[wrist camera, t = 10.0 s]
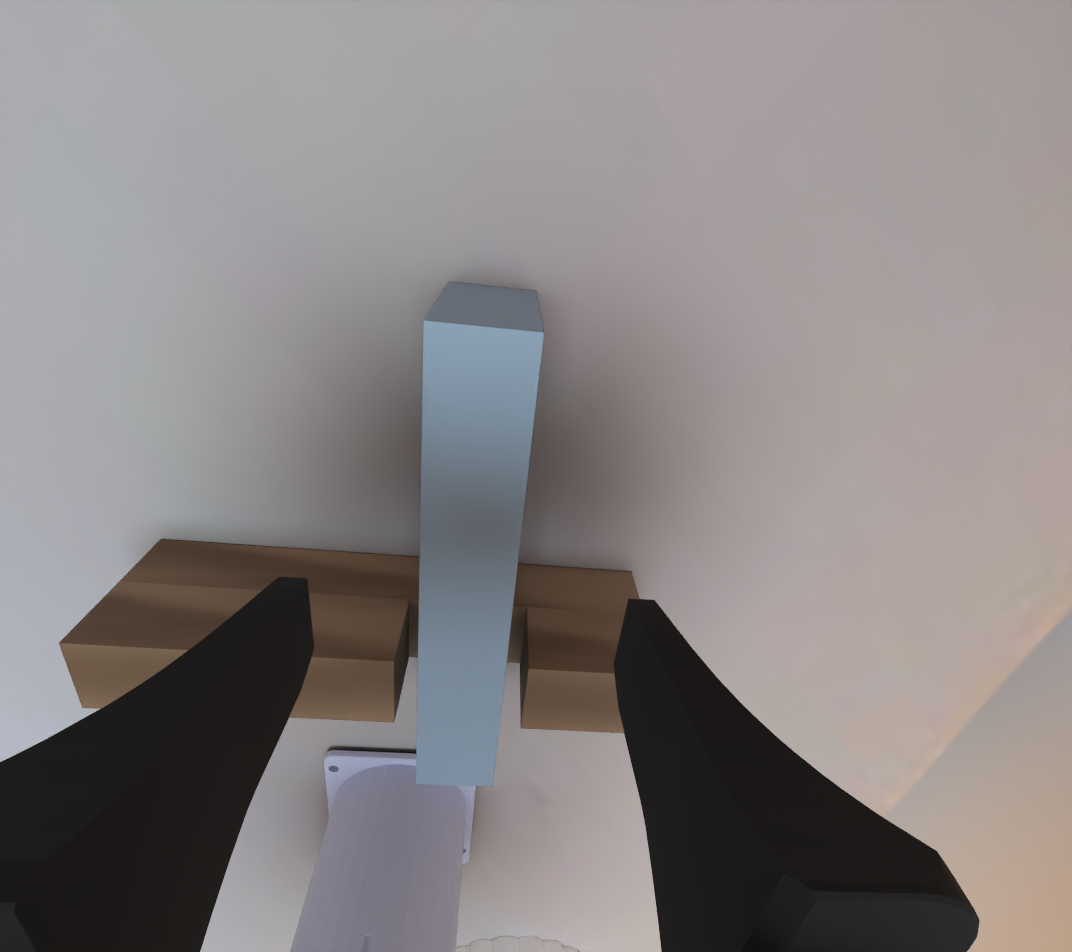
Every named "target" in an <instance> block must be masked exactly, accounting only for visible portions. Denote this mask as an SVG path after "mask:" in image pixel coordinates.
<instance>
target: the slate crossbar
mask: <svg viewBox="0 0 1072 952" xmlns="http://www.w3.org/2000/svg"><path fill="white" fill-rule="evenodd" d="M543 337H544V330H543V325H542V319H541V314H540V308H539V303H538V298H537V292H536V291H532V290H523V289H513V288H504V287H494V286H485V285H475V284H466V283H456V282H448V284H447V285H446V287H445V288H444V290H443V291H442V293H441V294H440V296H439V298H438V299H437V301H436V302H435V304H434V305H433V307H432V308H431V310H430V312H429V313H428V315H427V316H426V318H425V319H424V330H423V389H422V448H421V508H420V567H419V627H418V686H417V745H416V784H433V785H459V786H486V787H492V786H493V778H494V769H495V760H496V751H497V742H498V734H499V725H500V716H501V707H502V698H503V689H504V681H505V672H506V663H507V654H508V645H509V637H510V628H511V619H512V610H513V601H514V593H515V584H516V575H517V566H518V557H519V548H520V540H521V531H522V522H523V513H524V504H525V496H526V487H527V478H528V469H529V460H530V452H531V443H532V434H533V425H534V416H535V407H536V399H537V390H538V381H539V372H540V363H541V355H542V346H543Z"/></svg>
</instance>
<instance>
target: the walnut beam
mask: <svg viewBox="0 0 1072 952" xmlns="http://www.w3.org/2000/svg"><path fill="white" fill-rule="evenodd" d="M419 567H420V557H410V556H396V555H381V554H367V553H352V552H338V551H324V550H309V549H295V548H280V547H266V546H251V545H237V544H222V543H208V542H193V541H179V540H164V539H161V540H160V541H159V542H158V543H157V544H156V545H155V546H154V547H153V548H152V549H151V550H150V551H149V552H148V553H147V554H146V555H145V556H144V557H143V558H142V559H141V560H140V561H139V562H138V563H137V564H136V565H135V566H134V567H133V568H132V569H131V570H130V571H129V572H128V573H127V574H126V575H125V576H124V577H123V578H122V579H121V580H120V581H119V582H118V583H117V584H116V585H115V586H114V587H113V589H112V590H111V591H110V592H109V593H108V594H107V595H106V596H105V597H104V598H103V599H102V600H101V601H100V602H99V603H98V604H97V605H96V606H95V607H94V608H93V609H92V610H91V611H90V612H89V613H88V614H87V615H86V616H85V617H84V618H83V619H82V620H81V621H80V622H79V623H78V624H77V625H76V626H75V627H74V628H73V629H72V630H71V631H70V632H69V633H68V634H67V635H66V636H65V637H64V638H63V639H62V640H61V641H60V642H59V645H60V648H61V651H62V653H63V656H64V659H65V661H66V664H67V667H68V670H69V672H70V675H71V678H72V681H73V683H74V686H75V689H76V692H77V694H78V697H79V700H80V702H81V705H82V708H97V709H101V708H103V707H105V706H106V705H108V704H110V703H111V702H113V701H115V700H116V699H118V698H119V697H121V696H123V695H124V694H126V693H127V692H129V691H130V690H132V689H134V688H135V687H137V686H138V685H140V684H141V683H143V682H144V681H146V680H147V679H149V678H150V677H152V676H153V675H155V674H156V673H158V672H159V671H161V670H162V669H164V668H165V667H166V666H168V665H169V664H170V663H172V662H173V661H174V660H176V659H177V658H178V657H180V656H181V655H183V654H184V653H185V652H187V651H188V650H189V649H191V648H192V647H193V646H195V645H196V644H197V643H199V642H200V641H201V640H202V639H204V638H205V637H206V636H207V635H209V634H210V633H211V632H212V631H214V630H215V629H216V628H217V627H219V626H220V625H221V624H222V623H224V622H225V621H226V620H227V619H229V618H230V617H231V616H232V615H233V614H235V613H236V612H237V611H238V610H239V609H241V608H242V607H243V606H244V605H245V604H247V603H248V602H249V601H250V600H251V599H253V598H254V597H255V596H256V595H257V594H259V593H260V592H261V591H262V590H263V589H265V588H266V587H267V586H268V585H269V584H271V583H272V582H273V581H274V580H276V579H277V578H278V577H294V578H308V589H309V599H310V609H311V619H312V630H313V640H314V651H313V654H312V657H311V661H310V664H309V667H308V671H307V674H306V677H305V680H304V683H303V686H302V689H301V692H300V694H299V696H298V698H297V701H296V703H295V705H294V707H293V710H292V712H291V714H290V716H289V717H290V718H311V719H332V720H354V721H375V722H394V721H395V717H396V712H397V708H398V703H399V699H400V694H401V690H402V685H403V681H404V676H405V672H406V667H407V663H408V658H409V657H418V627H419ZM628 599H639V596H638V592H637V589H636V585H635V582H634V579H633V575H632V572H627V571H613V570H598V569H584V568H569V567H555V566H541V565H526V564H518V566H517V575H516V584H515V593H514V601H513V610H512V619H511V628H510V637H509V645H508V654H507V662H512V663H520V707H521V728H525V729H547V730H568V731H590V732H611V733H624V729H623V725H622V721H621V716H620V712H619V708H618V700H617V692H616V684H615V674H614V660H615V655H616V651H617V646H618V642H619V638H620V633H621V629H622V624H623V620H624V616H625V611H626V607H627V602H628Z"/></svg>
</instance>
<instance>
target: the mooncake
mask: <svg viewBox="0 0 1072 952" xmlns="http://www.w3.org/2000/svg"><path fill="white" fill-rule="evenodd" d="M455 952H578V951H577V950H576V949H575V948H573V947H567V946H562V944H561V943H560V942H558V941H555V940H543V941H542V940H541V939H539V938H537V937H534V936H524V937H520V938H516V937H513V936H500V937H497V938H495V939H494V940H489V939H481V940H477V941H474V942H473V943H471V945H470V946H460V947H457V948H456V951H455Z"/></svg>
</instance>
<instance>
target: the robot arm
mask: <svg viewBox="0 0 1072 952" xmlns="http://www.w3.org/2000/svg"><path fill="white" fill-rule="evenodd" d="M313 651H314V640H313V630H312V619H311V609H310V599H309V589H308V578H294V577H278V578H277V579H276V580H274V581H273V582H272V583H271V584H269V585H268V586H267V587H266V588H265V589H263V590H262V591H261V592H260V593H259V594H257V595H256V596H255V597H254V598H253V599H251V600H250V601H249V602H248V603H247V604H245V605H244V606H243V607H242V608H241V609H239V610H238V611H237V612H236V613H235V614H233V615H232V616H231V617H230V618H229V619H227V620H226V621H225V622H224V623H222V624H221V625H220V626H219V627H217V628H216V629H215V630H214V631H212V632H211V633H210V634H209V635H207V636H206V637H205V638H204V639H202V640H201V641H200V642H199V643H197V644H196V645H195V646H193V647H192V648H191V649H189V650H188V651H187V652H185V653H184V654H183V655H181V656H180V657H178V658H177V659H176V660H174V661H173V662H172V663H170V664H169V665H168V666H166V667H165V668H164V669H162V670H161V671H159V672H158V673H156V674H155V675H153V676H152V677H150V678H149V679H147V680H146V681H144V682H143V683H141V684H140V685H138V686H137V687H135V688H134V689H132V690H130V691H129V692H127V693H126V694H124V695H123V696H121V697H119V698H118V699H116V700H115V701H113V702H111V703H110V704H108V705H106V706H105V707H103V708H101V709H100V710H98V711H96V712H94V713H93V714H91V715H89V716H87V717H85V718H84V719H82V720H80V721H78V722H76V723H75V724H73V725H71V726H69V727H67V728H66V729H64V730H62V731H60V732H58V733H57V734H55V735H53V736H51V737H49V738H48V739H46V740H44V741H42V742H40V743H38V744H36V745H34V746H32V747H30V748H28V749H26V750H24V751H22V752H20V753H18V754H16V755H14V756H12V757H10V758H8V759H6V760H4V761H2V762H0V952H200V950H201V947H202V944H203V941H204V937H205V934H206V931H207V928H208V924H209V921H210V918H211V915H212V912H213V909H214V906H215V903H216V900H217V897H218V894H219V891H220V888H221V885H222V882H223V879H224V876H225V873H226V870H227V867H228V864H229V861H230V858H231V855H232V852H233V849H234V846H235V843H236V841H237V838H238V835H239V832H240V829H241V826H242V823H243V821H244V818H245V815H246V812H247V810H248V807H249V805H250V802H251V800H252V798H253V795H254V793H255V790H256V788H257V786H258V784H259V781H260V779H261V777H262V775H263V773H264V771H265V768H266V766H267V764H268V762H269V760H270V758H271V755H272V753H273V751H274V749H275V747H276V745H277V742H278V740H279V738H280V736H281V734H282V732H283V729H284V727H285V725H286V723H287V721H288V718H289V716H290V714H291V712H292V710H293V707H294V705H295V703H296V701H297V698H298V696H299V694H300V692H301V689H302V686H303V683H304V680H305V677H306V674H307V671H308V667H309V664H310V661H311V657H312V654H313ZM614 674H615V684H616V692H617V700H618V708H619V712H620V716H621V721H622V725H623V729H624V734H625V738H626V742H627V746H628V750H629V755H630V759H631V763H632V767H633V771H634V775H635V779H636V784H637V788H638V792H639V796H640V800H641V805H642V810H643V815H644V820H645V825H646V832H647V839H648V846H649V853H650V860H651V868H652V875H653V883H654V891H655V899H656V906H657V914H658V922H659V931H660V940H661V949H662V952H967V951H968V949H969V948H970V947H971V945H972V944H973V942H974V941H975V939H976V937H977V933H978V927H979V918H978V916H977V914H976V912H975V910H974V909H973V907H972V905H971V903H970V902H969V900H968V899H967V897H966V895H965V894H964V892H963V891H962V889H961V888H960V886H959V884H958V883H957V881H956V879H955V878H954V876H953V875H952V873H951V871H950V870H949V868H948V867H947V865H946V864H945V862H944V861H943V860H942V858H941V857H940V855H939V854H938V852H937V851H936V850H934V849H932V848H931V847H929V846H927V845H926V844H924V843H923V842H921V841H920V840H918V839H916V838H915V837H913V836H911V835H910V834H908V833H907V832H905V831H904V830H902V829H900V828H899V827H897V826H895V825H894V824H892V823H891V822H889V821H888V820H886V819H884V818H883V817H881V816H880V815H878V814H877V813H875V812H874V811H872V810H871V809H869V808H868V807H867V806H865V805H864V804H862V803H861V802H859V801H858V800H857V799H855V798H854V797H852V796H851V795H849V794H848V793H847V792H845V791H844V790H842V789H841V788H840V787H838V786H837V785H836V784H834V783H833V782H832V781H830V780H829V779H828V778H826V777H825V776H824V775H822V774H821V773H820V772H818V771H817V770H816V769H815V768H813V767H812V766H811V765H810V764H808V763H807V762H806V761H805V760H804V759H802V758H801V757H800V756H799V755H797V754H796V753H795V752H794V751H792V750H791V749H790V748H789V747H788V746H787V745H785V744H784V743H783V742H782V741H781V740H780V739H778V738H777V737H776V736H775V735H774V734H773V733H772V732H771V731H770V730H769V729H767V728H766V727H765V726H764V725H763V724H762V723H761V722H760V721H759V720H758V719H757V718H756V717H754V716H753V715H752V714H751V713H750V712H749V711H748V710H747V709H746V708H745V707H744V706H743V705H742V704H741V703H740V702H739V701H738V700H737V699H736V697H735V696H734V695H733V694H732V693H731V692H730V691H729V690H728V689H727V688H726V687H725V686H724V685H723V684H722V683H721V682H720V680H719V679H718V678H717V677H716V676H715V675H714V674H713V672H712V671H711V670H710V669H709V668H708V667H707V665H706V664H705V663H704V662H703V661H702V659H701V658H700V657H699V656H698V655H697V654H696V652H695V651H694V650H693V649H692V647H691V646H690V645H689V644H688V642H687V641H686V640H685V639H684V637H683V636H682V635H681V634H680V632H679V631H678V630H677V628H676V627H675V626H674V625H673V623H672V622H671V621H670V619H669V618H668V617H667V616H666V614H665V613H664V612H663V610H662V609H661V608H660V607H659V605H658V604H657V603H656V602H655V600H644V599H628V602H627V607H626V611H625V616H624V620H623V624H622V629H621V633H620V638H619V642H618V646H617V651H616V655H615V660H614ZM324 771H325V781H326V792H327V802H328V813H329V820H328V823H327V827H326V830H325V834H324V837H323V841H322V844H321V847H320V851H319V854H318V858H317V861H316V865H315V868H314V871H313V875H312V878H311V882H310V885H309V889H308V892H307V895H306V899H305V902H304V906H303V909H302V913H301V916H300V919H299V923H298V926H297V930H296V933H295V937H294V940H293V943H292V947H291V950H290V952H455V951H456V938H457V925H458V912H459V899H460V886H461V874H462V865H463V864H466V863H467V862H468V861H469V854H470V843H471V833H472V822H473V811H474V801H475V790H476V786H459V785H433V784H416V754H414V753H391V752H367V751H344V750H331V751H329V752H327V753H326V755H325V758H324Z"/></svg>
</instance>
